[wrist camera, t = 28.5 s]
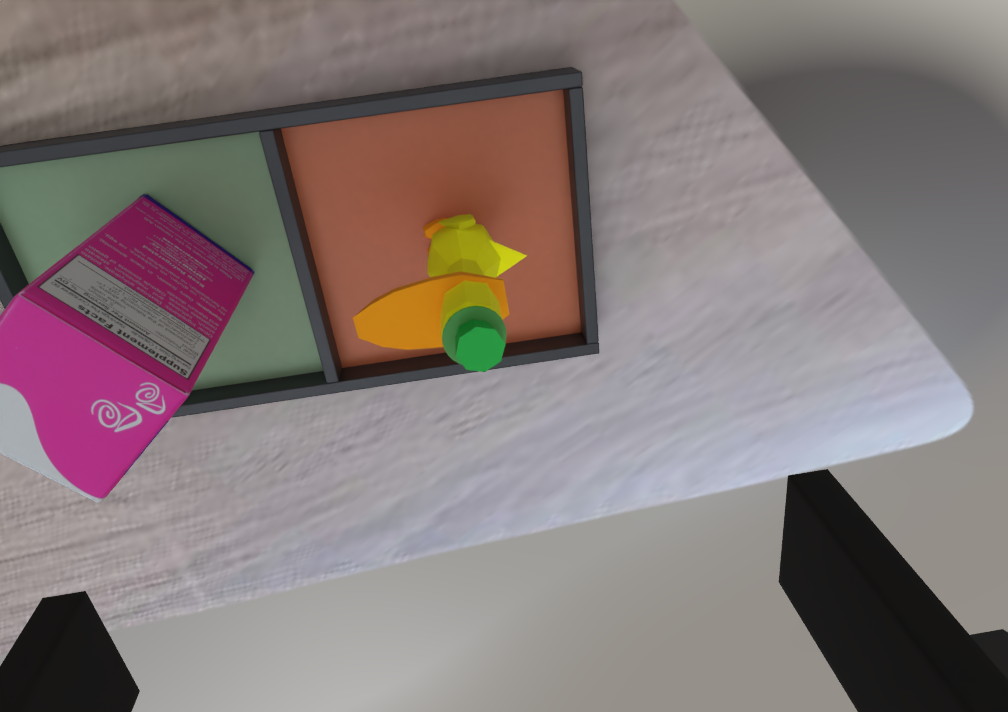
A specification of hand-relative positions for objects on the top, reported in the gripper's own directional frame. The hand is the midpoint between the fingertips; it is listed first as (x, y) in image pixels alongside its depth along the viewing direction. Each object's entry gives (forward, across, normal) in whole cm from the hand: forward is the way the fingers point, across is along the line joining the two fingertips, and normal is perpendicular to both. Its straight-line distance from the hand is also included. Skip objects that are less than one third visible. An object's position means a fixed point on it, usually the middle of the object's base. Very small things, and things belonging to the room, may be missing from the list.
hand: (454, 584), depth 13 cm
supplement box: (+22, -12, 0) cm, 25 cm away
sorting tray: (+22, -6, 0) cm, 23 cm away
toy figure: (+22, 0, 0) cm, 22 cm away
